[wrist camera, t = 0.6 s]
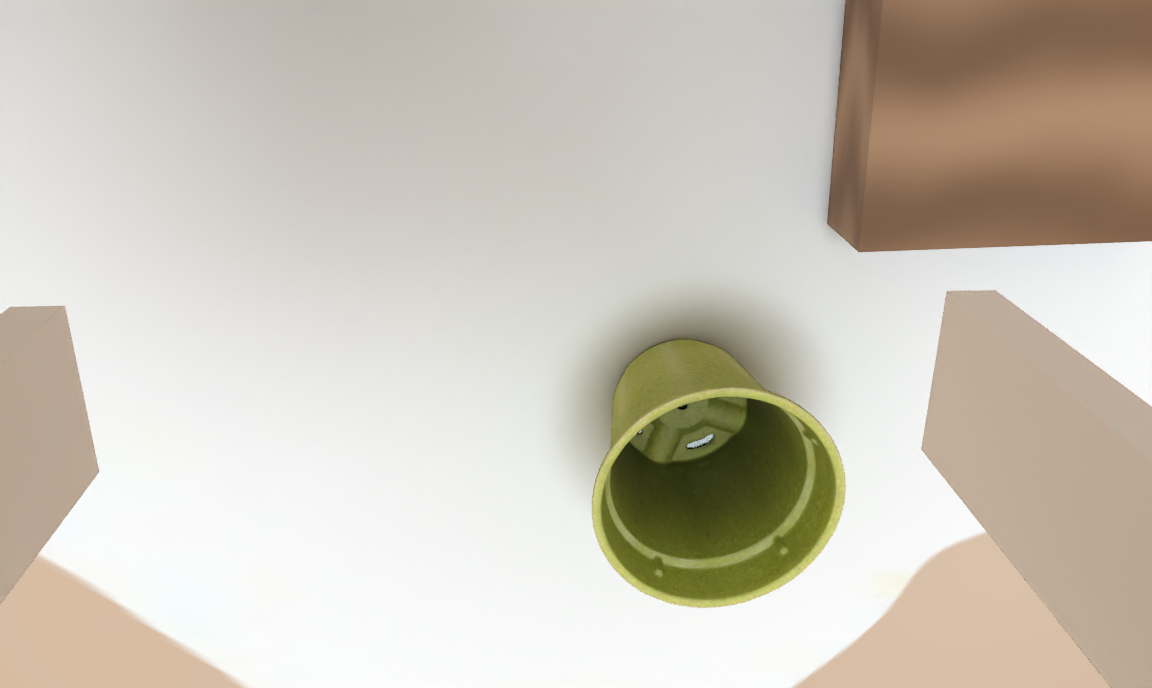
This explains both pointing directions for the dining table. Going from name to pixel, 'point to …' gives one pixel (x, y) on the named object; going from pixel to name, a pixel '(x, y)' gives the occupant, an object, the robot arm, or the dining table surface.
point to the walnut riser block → (993, 124)
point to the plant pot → (712, 481)
